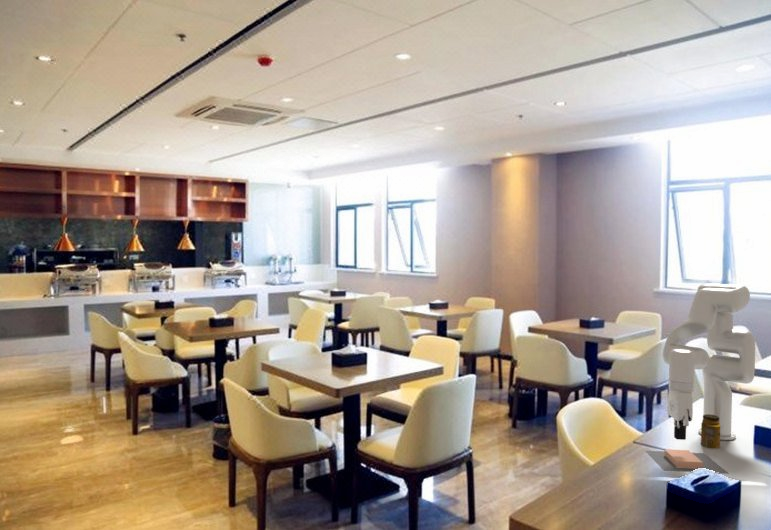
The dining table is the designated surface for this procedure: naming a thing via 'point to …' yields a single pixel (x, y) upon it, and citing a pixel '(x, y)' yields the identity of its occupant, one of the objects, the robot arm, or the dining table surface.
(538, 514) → the dining table surface
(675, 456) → the tile
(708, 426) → the condiment
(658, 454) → the mat
